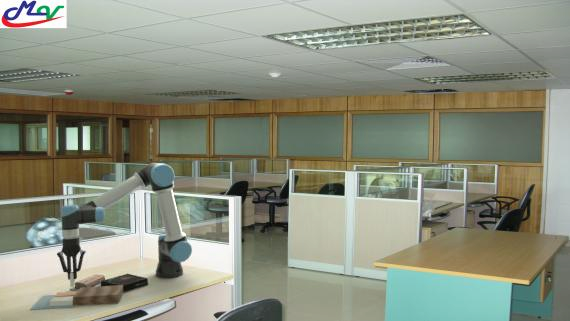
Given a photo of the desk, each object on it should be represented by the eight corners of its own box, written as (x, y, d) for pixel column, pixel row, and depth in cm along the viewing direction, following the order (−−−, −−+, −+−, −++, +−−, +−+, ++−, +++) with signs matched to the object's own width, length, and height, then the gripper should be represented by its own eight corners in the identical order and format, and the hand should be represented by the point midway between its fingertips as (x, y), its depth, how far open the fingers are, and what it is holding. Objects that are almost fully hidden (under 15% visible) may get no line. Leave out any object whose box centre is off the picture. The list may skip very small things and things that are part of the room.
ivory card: (76, 300, 232) (75, 296, 232) (72, 304, 226) (72, 300, 226) (53, 301, 230) (53, 297, 230) (49, 306, 225) (49, 301, 224)
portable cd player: (126, 280, 267) (126, 273, 267) (147, 285, 258) (147, 278, 258) (100, 288, 254) (100, 280, 254) (121, 294, 244) (121, 286, 244)
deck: (123, 293, 244) (122, 285, 244) (118, 302, 229) (118, 294, 229) (80, 295, 241) (80, 287, 240) (73, 305, 226) (72, 297, 226)
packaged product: (92, 273, 265) (108, 274, 262) (93, 281, 265) (108, 283, 262) (69, 282, 248) (85, 284, 245) (69, 291, 248) (85, 293, 245)
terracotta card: (79, 295, 240) (79, 290, 240) (77, 299, 234) (77, 294, 234) (57, 296, 238) (57, 292, 238) (54, 300, 232) (54, 296, 232)
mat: (82, 293, 243) (82, 293, 243) (72, 307, 224) (72, 306, 224) (43, 296, 240) (43, 295, 240) (29, 310, 221) (29, 309, 221)
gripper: (54, 239, 230) (56, 289, 232) (83, 238, 233) (85, 287, 234) (58, 236, 238) (60, 284, 239) (86, 235, 240) (88, 282, 241)
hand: (72, 285), depth 236 cm, fingers closed
